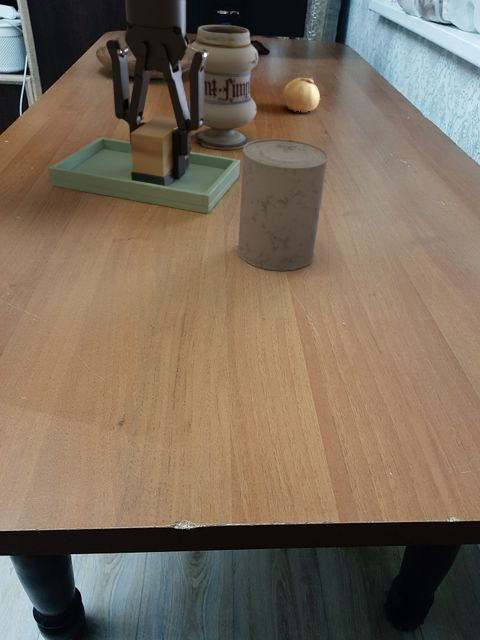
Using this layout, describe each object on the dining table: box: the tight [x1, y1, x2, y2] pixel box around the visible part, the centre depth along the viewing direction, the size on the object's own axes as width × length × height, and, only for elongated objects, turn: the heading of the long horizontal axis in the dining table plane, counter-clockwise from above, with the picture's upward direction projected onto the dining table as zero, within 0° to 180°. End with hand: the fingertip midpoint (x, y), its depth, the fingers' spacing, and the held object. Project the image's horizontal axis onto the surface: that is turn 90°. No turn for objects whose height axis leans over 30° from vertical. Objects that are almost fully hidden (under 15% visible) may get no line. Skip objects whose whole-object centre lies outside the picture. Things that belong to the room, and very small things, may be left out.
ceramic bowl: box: [95, 45, 191, 80], centre depth 138 cm, size 23×24×5 cm
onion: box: [281, 76, 321, 113], centre depth 121 cm, size 8×8×7 cm
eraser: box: [131, 115, 189, 186], centre depth 83 cm, size 10×5×7 cm, turn 166°
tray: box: [48, 136, 241, 214], centre depth 85 cm, size 24×16×3 cm, turn 76°
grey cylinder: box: [236, 138, 330, 272], centre depth 67 cm, size 10×10×12 cm
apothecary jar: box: [187, 24, 260, 151], centre depth 98 cm, size 12×12×18 cm
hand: (161, 172), depth 84 cm, fingers closed on eraser, 5 cm apart
